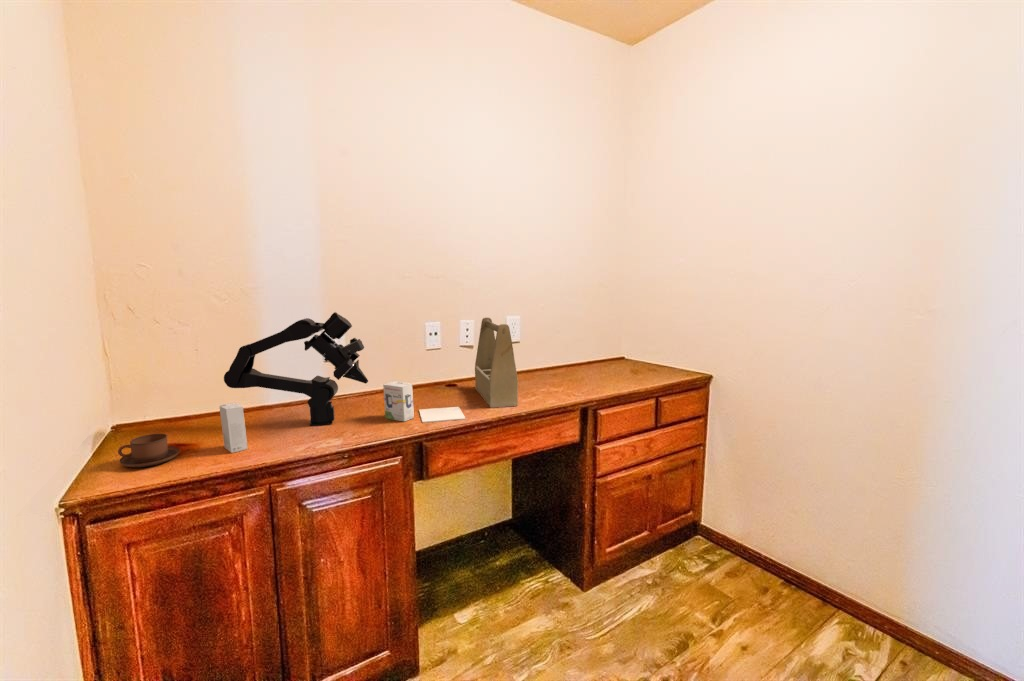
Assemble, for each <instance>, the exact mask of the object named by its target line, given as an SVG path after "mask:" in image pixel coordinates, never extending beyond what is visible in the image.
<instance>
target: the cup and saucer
mask: <svg viewBox="0 0 1024 681" xmlns="http://www.w3.org/2000/svg"><path fill="white" fill-rule="evenodd" d="M129 443H130V444H124V445H121V446H120V447H119V448H118V450H117V453H118V455H119V456H120V457H121V458H120V459H119V463H120V465H122V466H124V467H128V468H146V467H152V466H156V465H159V464H160V465H161V464H163V463H166V462H169V461H170V460H173V459H174V458H175V457H177V456H178V455H179V453H180V447H178V446H173V445H169V444H168V443H169V442H168V435H167V434H165V433H151V434H145V435H141V436H137V437H134V438H133V439H131V440H130V442H129ZM127 448H128V449H130V451H131V452H129V453H126V454H124V453H123V452H122V451H123V449H127Z"/></svg>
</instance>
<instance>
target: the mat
mask: <svg viewBox="0 0 1024 681" xmlns="http://www.w3.org/2000/svg"><path fill="white" fill-rule="evenodd" d="M418 412H419V415H420V419H421V422H422V424H427V423H438V422H449V421H450V422H451V421H463V420H464V421H465V420H466V419H467V418H466V416H465V415H464V413H463V411H462V410H461V408H460V406H451V407H449V406H448V407H447V406H446V407H435V408H423V409H418Z"/></svg>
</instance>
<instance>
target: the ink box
mask: <svg viewBox="0 0 1024 681" xmlns="http://www.w3.org/2000/svg"><path fill="white" fill-rule="evenodd" d="M382 385H383V386H382V388H383V400H384V401H383V402H384V403H383V404H384V417H385V419H388V420H393V421H399V422H406V421H409V420H412V419H414V418H415V414H414V412H415V411H414V396H413V395H414V394H413V384H411V383H409V382H405V381H404V382H403V381H396V380H393V381H389V382H388V383H384V384H382Z"/></svg>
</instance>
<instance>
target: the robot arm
mask: <svg viewBox="0 0 1024 681" xmlns="http://www.w3.org/2000/svg"><path fill="white" fill-rule="evenodd" d="M352 327H353V324H352V323H351V322H350V321H349V320H348V319H347V318H345V317H343V316H342V315H341V314H339V313H337V312H336V311H335V312H332V314H331V315H330V317H329V318H328V319H327V320H326V321H325V322H324V323H323V322H317V321H314V320H313V319H311V318H309V317H308V318H307V317H306V318H302V319H299V320H297V321H295V322H294V323H292V324H290V325H289V326H287V327H286V328H284V329H283V330H281V331H279V332H277V333H274V334H271V335H269V336H267V337H265V338H262V339H259V340H257V341H255V342H251V343H248V344H245V345H242V346H240V347H239V349H238V350H237V353H236V356H235V358H234V360H233V361H232V363H231V364H230V366H229V369H228V370H227V371H226V372H225V373H224V376H223V381H224V383H225V385H226V386H227V387H228V388H231V389H247V388H248V389H250V388H255V387H257V388H263V389H270V390H276V391H282V392H283V391H284V392H289V393H297V394H302V395H303V394H304V395H306V396H307V397H310V398H309V399H308V400H307V404H308V407H309V412H310V414H309V415H310V423H309V426H310V427H313V426H324V425H327V426H328V425H332V424H333V422H334V421H335V418H336V417H335V406H333V402H332V400H333V398H334V397H335V395H336V394H337V393H338V390H339V385H338V383H337V382H336V381H335V380H334V379H330V378H331V377H330V376H329V377H324V376H321V375H316V376H314V377H313V378H312V379H310V380H308V379H301V378H296V377H290V376H288V377H287V376H284V375H283V376H281V375H276V374H269V373H264V372H261V371H260V370H257V369H255V368H254V363H255V358H256V355H258V354H260V353H263V352H266V351H268V350H270V349H272V348H275V347H278V346H280V345H283V344H285V343H289V342H294V341H300V340H303V339H307V338H310V337H311V338H310V339H309V340H305V341H303V343H304V351H308V350H309V349H310V348H312V349H314V350H315V351H316V352H317V353H318V354H319V355H321V357H323V358H324V359H323V360H324V361H325V362H329V363H330V364H331V365H333V366H334V371H333V377H334V378H336V380H338V381H339V380H341V378H346V379H349V380H353V381H356V382H360V383H363V384H367V383H368V382H369V379H368V378H367V376H366V375H365V374H364V372H363V371H362V369H361V368H360V365H359V364H360V360H359V359H358V358H359V357H360V354H359V353H358V352H361V351H363V350H364V348H365V346H364V344H363V341H362V340H361V339H360V338H359V339H357V338H356V337H353V338H351V339H350V340H349V343H348V344H346V345H343V344H338V343H337V342H336V341H335V340H336V339H337V340H340V339H341V338H342V337H343V336H344V335H345V334H346V333H347V332H348V331H349V330H350V329H351V328H352ZM321 331H322V332H321ZM319 332H321V333H320V334H316V333H319Z"/></svg>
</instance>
